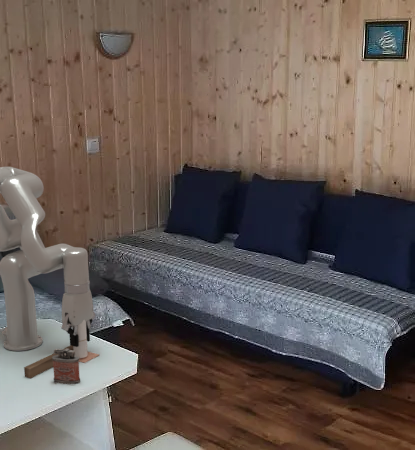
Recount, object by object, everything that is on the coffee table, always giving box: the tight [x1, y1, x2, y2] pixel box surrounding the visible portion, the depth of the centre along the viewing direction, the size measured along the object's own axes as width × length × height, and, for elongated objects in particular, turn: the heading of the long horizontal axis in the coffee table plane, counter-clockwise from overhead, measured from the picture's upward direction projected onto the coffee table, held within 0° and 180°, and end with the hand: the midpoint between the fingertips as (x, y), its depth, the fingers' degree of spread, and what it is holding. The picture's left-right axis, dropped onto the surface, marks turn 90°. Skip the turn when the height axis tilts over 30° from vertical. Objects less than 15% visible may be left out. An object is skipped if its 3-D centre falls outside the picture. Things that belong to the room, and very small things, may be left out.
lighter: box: [52, 347, 81, 385], centre depth 197 cm, size 8×3×10 cm, turn 78°
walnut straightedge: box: [23, 344, 74, 379], centre depth 210 cm, size 2×24×3 cm, turn 148°
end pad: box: [79, 350, 100, 364], centre depth 215 cm, size 6×7×1 cm
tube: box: [72, 320, 89, 358], centre depth 213 cm, size 4×4×15 cm
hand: (80, 342), depth 213 cm, fingers closed on tube, 4 cm apart
